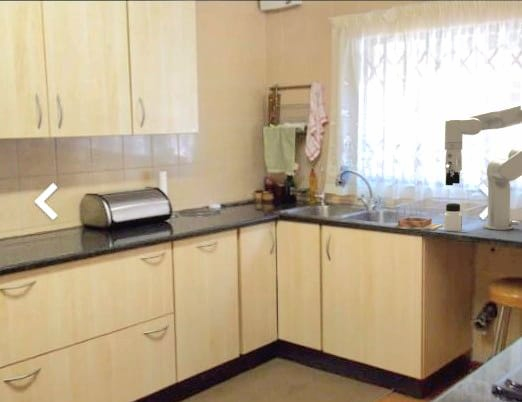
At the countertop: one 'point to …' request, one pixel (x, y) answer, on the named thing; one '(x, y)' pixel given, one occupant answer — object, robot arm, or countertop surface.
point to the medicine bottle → (453, 217)
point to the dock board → (417, 224)
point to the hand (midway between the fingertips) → (452, 184)
